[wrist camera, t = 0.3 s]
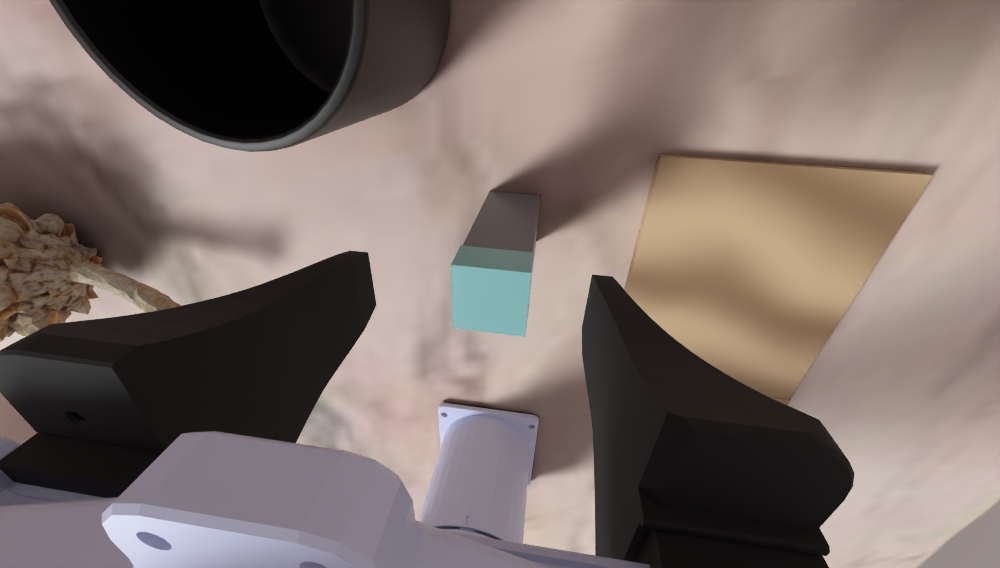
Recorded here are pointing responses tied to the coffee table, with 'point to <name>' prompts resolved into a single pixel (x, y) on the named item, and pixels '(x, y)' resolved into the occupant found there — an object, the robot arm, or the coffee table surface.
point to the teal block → (496, 266)
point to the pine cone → (55, 274)
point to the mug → (262, 61)
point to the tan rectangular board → (762, 257)
